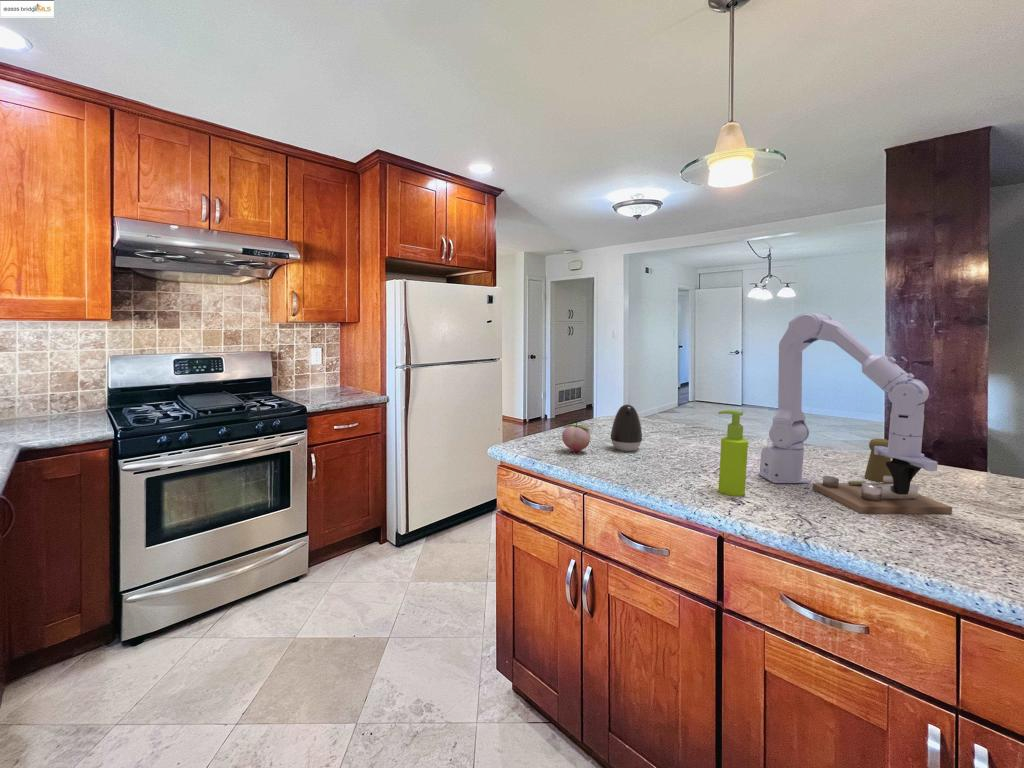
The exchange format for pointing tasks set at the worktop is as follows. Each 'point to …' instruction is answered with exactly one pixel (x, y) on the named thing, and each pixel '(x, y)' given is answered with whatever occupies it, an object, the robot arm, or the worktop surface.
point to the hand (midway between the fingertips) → (900, 493)
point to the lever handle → (886, 492)
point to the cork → (877, 462)
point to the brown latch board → (852, 498)
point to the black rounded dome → (626, 429)
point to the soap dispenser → (733, 458)
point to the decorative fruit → (576, 437)
